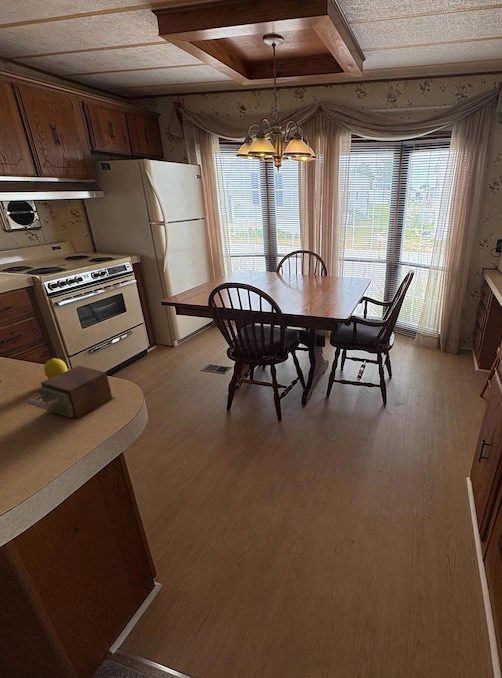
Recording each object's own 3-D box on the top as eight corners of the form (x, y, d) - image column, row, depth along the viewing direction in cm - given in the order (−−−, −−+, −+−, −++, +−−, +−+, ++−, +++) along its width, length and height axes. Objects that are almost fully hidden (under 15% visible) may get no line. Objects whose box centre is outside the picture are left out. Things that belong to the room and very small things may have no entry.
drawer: (54, 427, 85) (46, 404, 83) (28, 418, 88) (20, 396, 86) (103, 399, 97) (98, 378, 95) (79, 392, 100) (73, 372, 98)
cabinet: (77, 418, 90) (69, 390, 87) (49, 409, 93) (40, 382, 90) (112, 398, 100) (106, 372, 96) (86, 390, 103) (79, 365, 99)
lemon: (68, 375, 111) (61, 352, 108) (71, 381, 107) (65, 358, 104) (46, 380, 107) (39, 357, 104) (49, 387, 104) (42, 364, 101)
